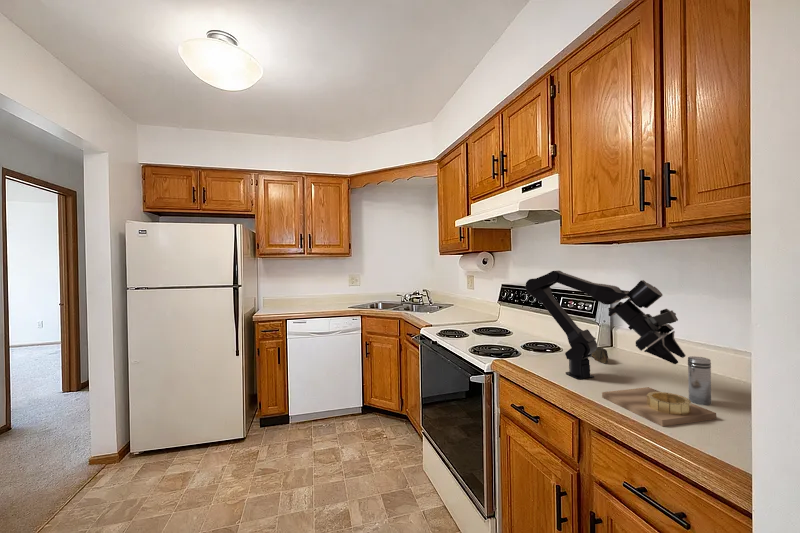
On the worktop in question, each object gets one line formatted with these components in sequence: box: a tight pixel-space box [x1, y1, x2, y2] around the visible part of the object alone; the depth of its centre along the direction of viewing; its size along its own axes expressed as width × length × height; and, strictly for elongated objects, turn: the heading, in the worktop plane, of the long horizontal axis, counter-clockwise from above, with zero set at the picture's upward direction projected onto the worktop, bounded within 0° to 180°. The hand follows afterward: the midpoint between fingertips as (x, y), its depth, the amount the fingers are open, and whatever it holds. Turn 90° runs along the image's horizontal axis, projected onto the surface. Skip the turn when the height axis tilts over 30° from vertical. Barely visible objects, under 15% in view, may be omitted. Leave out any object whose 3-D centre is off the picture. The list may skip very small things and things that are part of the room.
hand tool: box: [591, 346, 609, 365], centre depth 147 cm, size 23×5×6 cm, turn 174°
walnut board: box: [601, 386, 717, 427], centre depth 95 cm, size 19×16×2 cm
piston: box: [687, 355, 712, 406], centre depth 98 cm, size 5×5×12 cm
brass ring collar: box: [647, 391, 692, 415], centre depth 92 cm, size 9×9×2 cm
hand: (680, 360), depth 101 cm, fingers open, 9 cm apart
